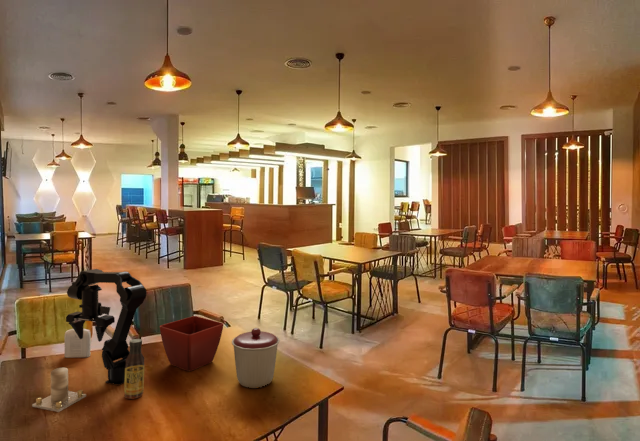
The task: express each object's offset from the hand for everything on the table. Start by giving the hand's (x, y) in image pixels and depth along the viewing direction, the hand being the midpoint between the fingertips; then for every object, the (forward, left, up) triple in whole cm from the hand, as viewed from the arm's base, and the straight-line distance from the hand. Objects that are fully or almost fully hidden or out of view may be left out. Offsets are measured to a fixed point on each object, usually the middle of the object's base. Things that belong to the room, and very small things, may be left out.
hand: (90, 340), depth 162 cm
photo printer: (+18, -11, -13) cm, 25 cm away
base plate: (-9, +22, -13) cm, 27 cm away
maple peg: (-9, +22, -12) cm, 27 cm away
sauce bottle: (-30, +11, -13) cm, 35 cm away
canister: (-66, -12, -13) cm, 68 cm away
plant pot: (-33, -20, -13) cm, 41 cm away
